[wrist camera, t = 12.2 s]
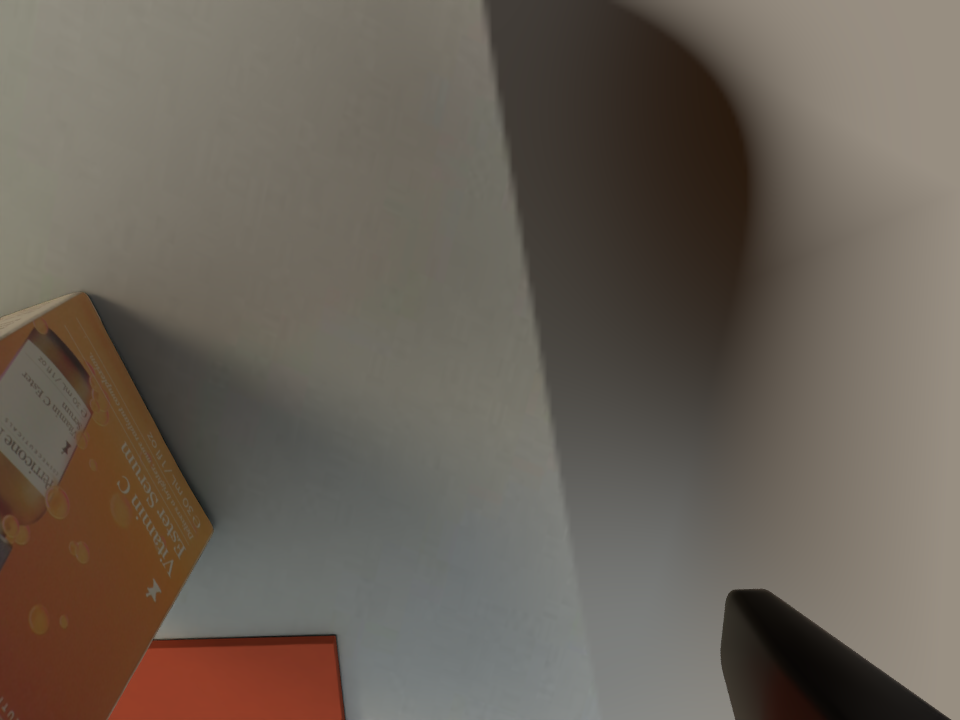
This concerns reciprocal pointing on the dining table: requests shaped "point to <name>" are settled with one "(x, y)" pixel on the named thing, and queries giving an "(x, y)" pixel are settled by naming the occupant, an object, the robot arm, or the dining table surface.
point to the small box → (81, 517)
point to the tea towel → (235, 680)
